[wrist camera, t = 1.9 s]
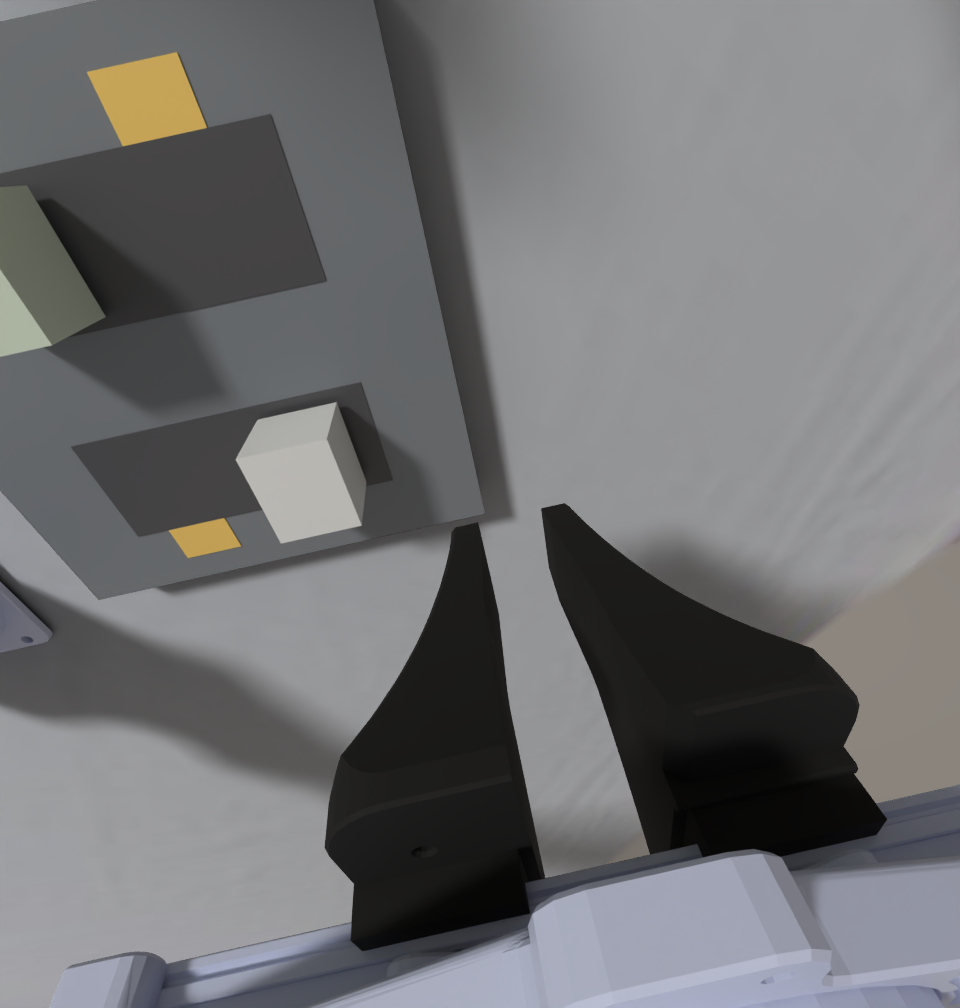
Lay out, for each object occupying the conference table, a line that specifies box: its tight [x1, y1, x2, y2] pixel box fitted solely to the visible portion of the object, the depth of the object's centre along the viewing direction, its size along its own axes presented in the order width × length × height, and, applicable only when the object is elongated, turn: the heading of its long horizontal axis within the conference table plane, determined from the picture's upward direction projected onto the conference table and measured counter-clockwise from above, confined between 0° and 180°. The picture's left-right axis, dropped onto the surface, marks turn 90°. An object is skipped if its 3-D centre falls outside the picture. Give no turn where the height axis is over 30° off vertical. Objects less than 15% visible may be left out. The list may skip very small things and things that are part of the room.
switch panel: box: [0, 0, 485, 600], centre depth 18 cm, size 18×18×2 cm
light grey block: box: [236, 402, 366, 544], centre depth 18 cm, size 3×4×3 cm
